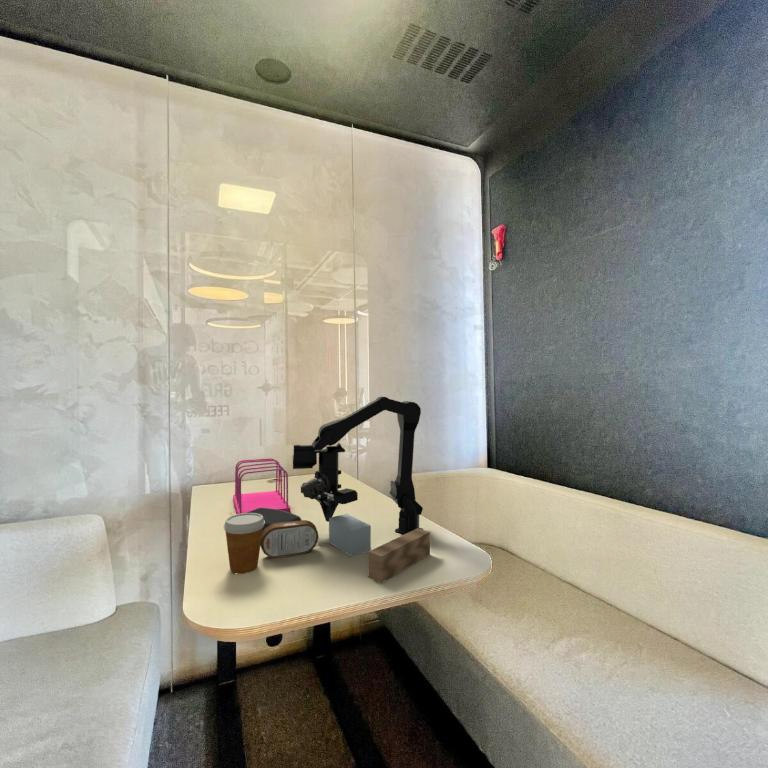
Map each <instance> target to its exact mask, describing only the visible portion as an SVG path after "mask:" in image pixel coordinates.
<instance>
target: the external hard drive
mask: <svg viewBox="0 0 768 768" xmlns="http://www.w3.org/2000/svg"><path fill="white" fill-rule="evenodd" d="M247 513H257V514H261V515H262V516H263V519H264V521H265V524H264V526H263V530H262V532H263V531H264V529H265V528H267V527H268V526H269V525H271V524H274V523H282V522H292V521H301V520H302V518H301V516H299V515H297V514H294V513H292V512H286V511H282V510H277V509H270V508H258V509H255V510H252V511H249V512H247Z"/></svg>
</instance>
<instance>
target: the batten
mask: <svg viewBox="0 0 768 768" xmlns="http://www.w3.org/2000/svg"><path fill="white" fill-rule="evenodd" d="M419 528H420V527H419ZM419 528H417V529H415V530H413V531H411V532H409V533H406V534H403V535H401V536H398V537H396V538H394V539H392V540H389V541H388V542H385V543H383V544H381V545H380V546H379V545H378V546H377V547H375V548H373V549H371V551H369V552H367V555H368V556H367V557H368V558H367V562H368V563H367V565H368V566H367V578H368V579H371V580H373V581H375V582H378V583H379V584H383V583H384V582H386V581H387V580H389V579H391V578H392V577H395V576H396V575H398V574H399V573H401V572H403V571H405V570H406V569H408V568H409V567H412V566H413V565H414V564H416V563H418V562H420V561H421V560H423V559H425V558H427V557H428V556H430V554H431V531H428V530H425V529H423V528H422V529H423V530H422V529H419Z"/></svg>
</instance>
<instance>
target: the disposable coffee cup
mask: <svg viewBox="0 0 768 768" xmlns="http://www.w3.org/2000/svg"><path fill="white" fill-rule="evenodd" d="M264 524H265V521H264V519H263V516H262V515H261V514H257V513H242V514H237V513H236V514H233V515H230V516H229V517H227V518H226V519H225V522H224V524H223V525H222V527H223V529H224V531H225V537H226V545H227V554H228V555H227V556H228V562H229V570H230V572H231V573H232V572H233V574H236V573H237V575H243V574H248V573H252V572H254V571H255V570H256V569H258V567H259V558H260V550H261V546H260V545H261V538H262V530H263V526H264Z"/></svg>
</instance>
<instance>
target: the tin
mask: <svg viewBox="0 0 768 768" xmlns="http://www.w3.org/2000/svg"><path fill="white" fill-rule="evenodd" d="M318 541H319V531H318V529H317V527H316V525H315V524H314V523H313V522H312V521H310V520H306V519H305V520H304V519H301V521H292V522H282V523H274V524H271V525H269V526H268V527H267V528H265V529H264V531H263V532H262V538H261V545H260V550H262V552H263V554H264V555H265V556H267V557H269V558H272V559H273V558H274V559H278V558H283V557H291V556H298V555H304V554H308V553H309V552H311V551H312V550H314V548H315V547H316V546H317V543H318Z"/></svg>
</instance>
